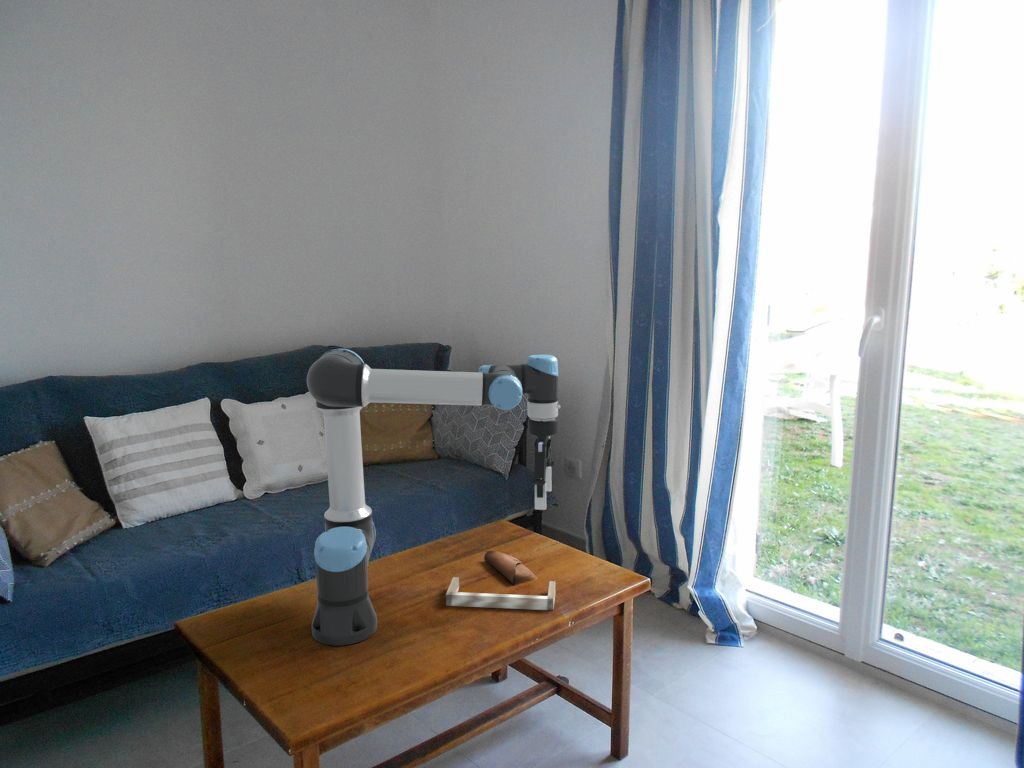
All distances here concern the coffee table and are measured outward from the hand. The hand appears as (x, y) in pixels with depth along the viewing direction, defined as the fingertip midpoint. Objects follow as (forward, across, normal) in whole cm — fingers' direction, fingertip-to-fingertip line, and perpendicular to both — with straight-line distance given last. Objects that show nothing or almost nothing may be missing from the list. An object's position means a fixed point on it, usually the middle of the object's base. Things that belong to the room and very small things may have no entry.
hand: (543, 499), depth 189 cm
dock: (+26, -3, +10) cm, 28 cm away
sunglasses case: (+27, +14, +11) cm, 32 cm away
